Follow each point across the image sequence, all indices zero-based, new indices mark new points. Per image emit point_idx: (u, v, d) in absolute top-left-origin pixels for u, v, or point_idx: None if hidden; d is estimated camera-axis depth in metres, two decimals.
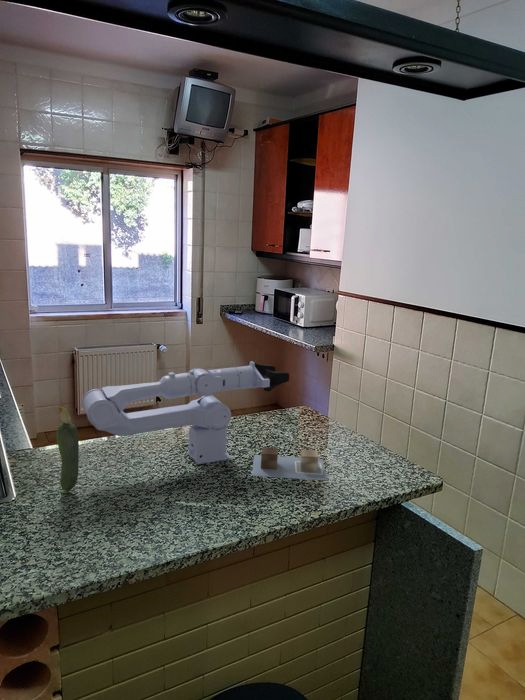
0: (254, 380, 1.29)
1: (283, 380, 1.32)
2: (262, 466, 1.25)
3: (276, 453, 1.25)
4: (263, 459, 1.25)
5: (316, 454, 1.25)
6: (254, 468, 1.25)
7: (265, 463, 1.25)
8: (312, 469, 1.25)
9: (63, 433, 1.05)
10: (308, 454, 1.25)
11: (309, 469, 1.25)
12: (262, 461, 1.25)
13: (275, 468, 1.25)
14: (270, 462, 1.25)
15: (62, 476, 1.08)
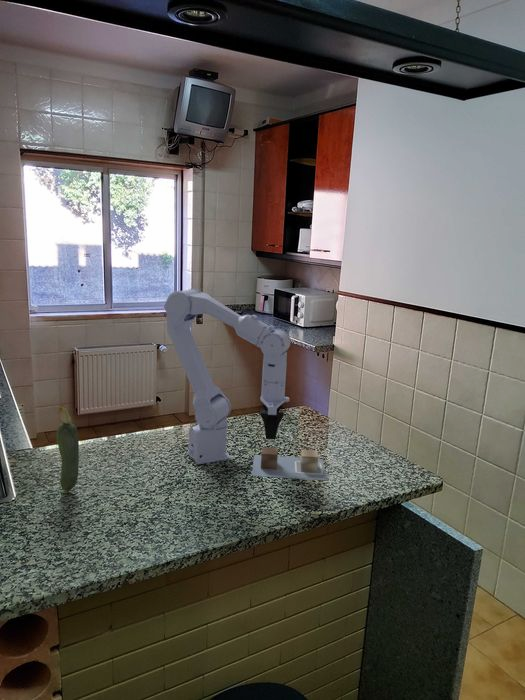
0: (271, 399, 1.20)
1: (268, 432, 1.21)
2: (262, 466, 1.25)
3: (276, 453, 1.25)
4: (263, 459, 1.25)
5: (316, 454, 1.25)
6: (254, 468, 1.25)
7: (265, 463, 1.25)
8: (312, 469, 1.25)
9: (63, 433, 1.05)
10: (308, 454, 1.25)
11: (309, 469, 1.25)
12: (262, 461, 1.25)
13: (275, 468, 1.25)
14: (270, 462, 1.25)
15: (62, 476, 1.08)
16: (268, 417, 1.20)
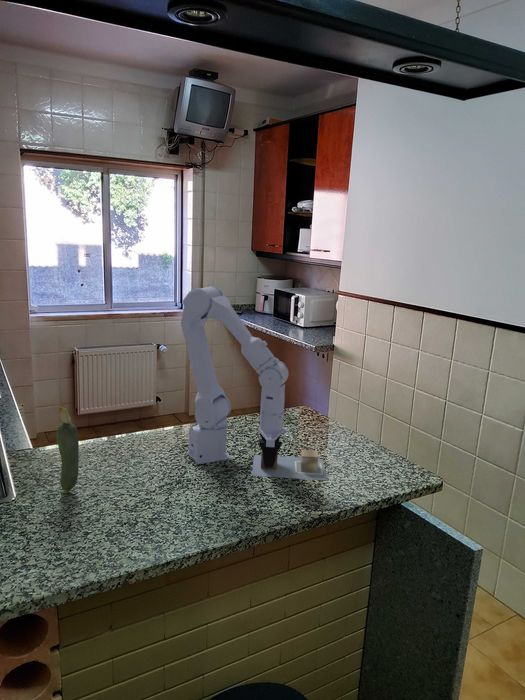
0: (269, 431, 1.22)
1: (266, 460, 1.24)
2: (262, 466, 1.25)
3: None
4: None
5: (316, 454, 1.25)
6: (254, 468, 1.25)
7: None
8: (312, 469, 1.25)
9: (63, 433, 1.05)
10: (308, 454, 1.25)
11: (309, 469, 1.25)
12: (262, 461, 1.25)
13: (275, 468, 1.25)
14: None
15: (62, 476, 1.08)
16: None
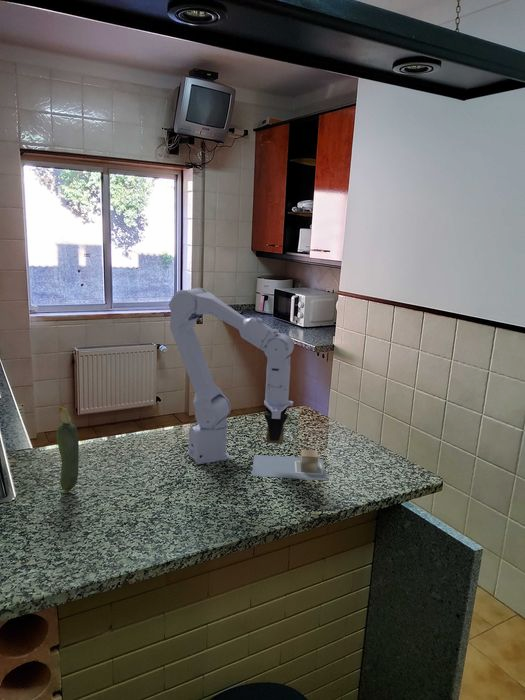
0: (275, 404, 1.21)
1: (272, 434, 1.22)
2: (268, 440, 1.23)
3: (282, 427, 1.23)
4: (268, 433, 1.23)
5: (316, 454, 1.25)
6: (254, 468, 1.25)
7: None
8: (312, 469, 1.25)
9: (63, 433, 1.05)
10: (308, 454, 1.25)
11: (309, 469, 1.25)
12: (268, 434, 1.23)
13: (281, 442, 1.23)
14: None
15: (62, 476, 1.08)
16: (272, 419, 1.21)
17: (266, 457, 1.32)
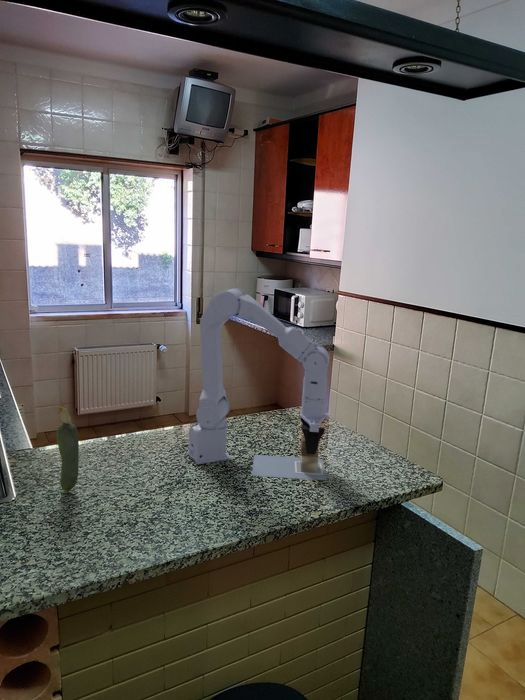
0: (312, 416, 1.21)
1: (308, 447, 1.22)
2: (303, 453, 1.24)
3: None
4: (303, 447, 1.24)
5: None
6: (254, 468, 1.25)
7: None
8: (312, 469, 1.25)
9: (63, 433, 1.05)
10: None
11: (309, 469, 1.25)
12: (303, 448, 1.24)
13: (316, 455, 1.24)
14: None
15: (62, 476, 1.08)
16: (309, 432, 1.21)
17: (266, 457, 1.32)
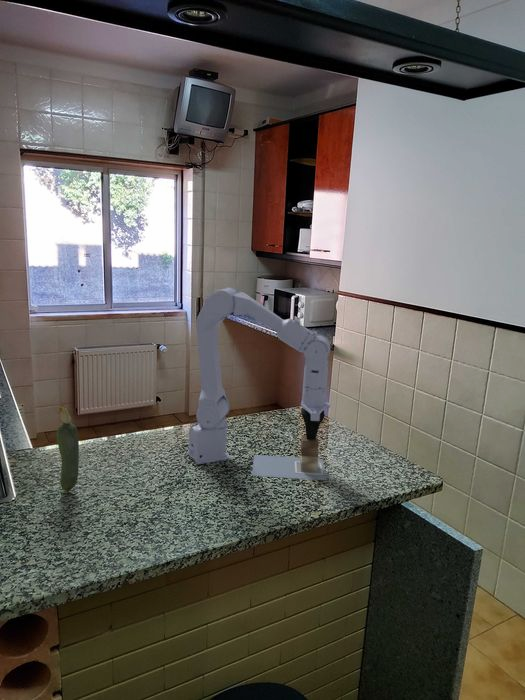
0: (313, 405, 1.20)
1: (308, 432, 1.24)
2: (303, 453, 1.24)
3: (317, 440, 1.24)
4: (303, 447, 1.24)
5: None
6: (254, 468, 1.25)
7: (306, 451, 1.24)
8: (312, 469, 1.25)
9: (63, 433, 1.05)
10: None
11: (309, 469, 1.25)
12: (303, 448, 1.24)
13: (316, 455, 1.24)
14: (311, 450, 1.24)
15: (62, 476, 1.08)
16: (309, 418, 1.23)
17: (266, 457, 1.32)
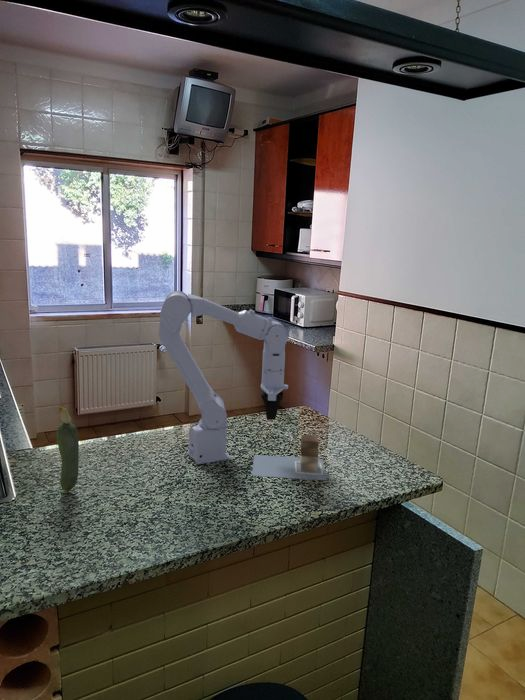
0: (271, 387, 1.27)
1: (268, 413, 1.31)
2: (303, 453, 1.24)
3: (317, 440, 1.24)
4: (303, 447, 1.24)
5: None
6: (254, 468, 1.25)
7: (306, 451, 1.24)
8: (312, 469, 1.25)
9: (63, 433, 1.05)
10: None
11: (309, 469, 1.25)
12: (303, 448, 1.24)
13: (316, 455, 1.24)
14: (311, 450, 1.24)
15: (62, 476, 1.08)
16: None
17: (266, 457, 1.32)
